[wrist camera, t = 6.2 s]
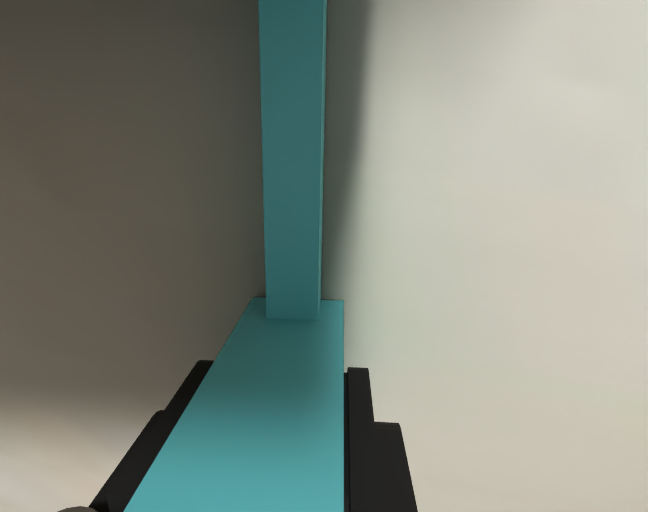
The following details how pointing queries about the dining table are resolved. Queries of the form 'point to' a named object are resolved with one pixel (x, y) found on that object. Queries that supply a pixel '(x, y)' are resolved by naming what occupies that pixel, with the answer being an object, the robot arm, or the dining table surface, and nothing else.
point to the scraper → (272, 321)
